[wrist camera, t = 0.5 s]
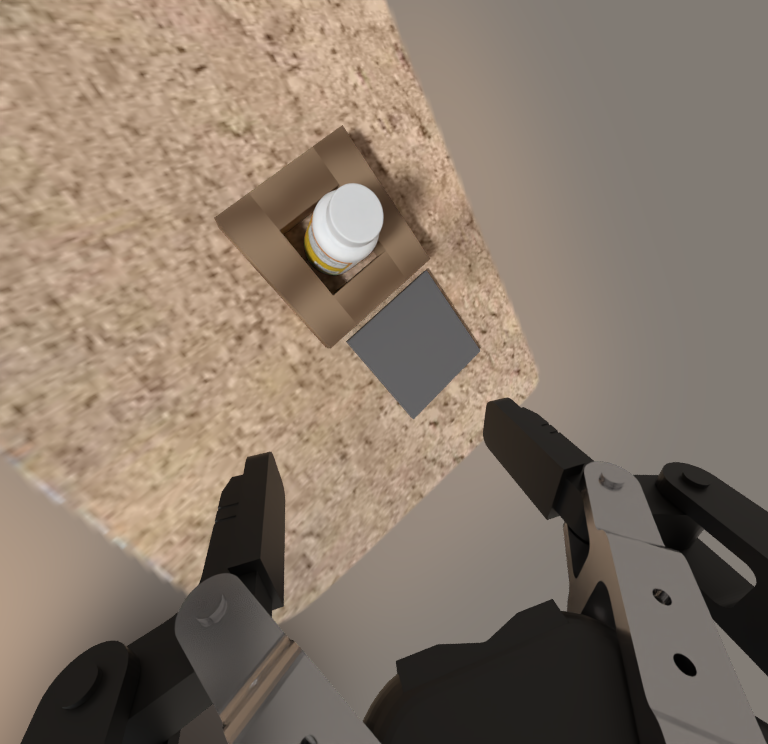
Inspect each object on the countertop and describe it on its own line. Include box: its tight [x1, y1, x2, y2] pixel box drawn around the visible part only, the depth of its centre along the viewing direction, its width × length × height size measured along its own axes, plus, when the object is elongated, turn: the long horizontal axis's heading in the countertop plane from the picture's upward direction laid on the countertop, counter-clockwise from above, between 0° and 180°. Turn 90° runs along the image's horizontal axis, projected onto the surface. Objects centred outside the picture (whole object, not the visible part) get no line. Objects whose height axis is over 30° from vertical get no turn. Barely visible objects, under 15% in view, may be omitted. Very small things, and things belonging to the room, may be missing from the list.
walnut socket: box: [214, 125, 430, 348], centre depth 29 cm, size 14×14×2 cm
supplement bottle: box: [304, 183, 383, 275], centre depth 26 cm, size 5×5×10 cm
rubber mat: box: [346, 270, 480, 419], centre depth 35 cm, size 12×12×1 cm
